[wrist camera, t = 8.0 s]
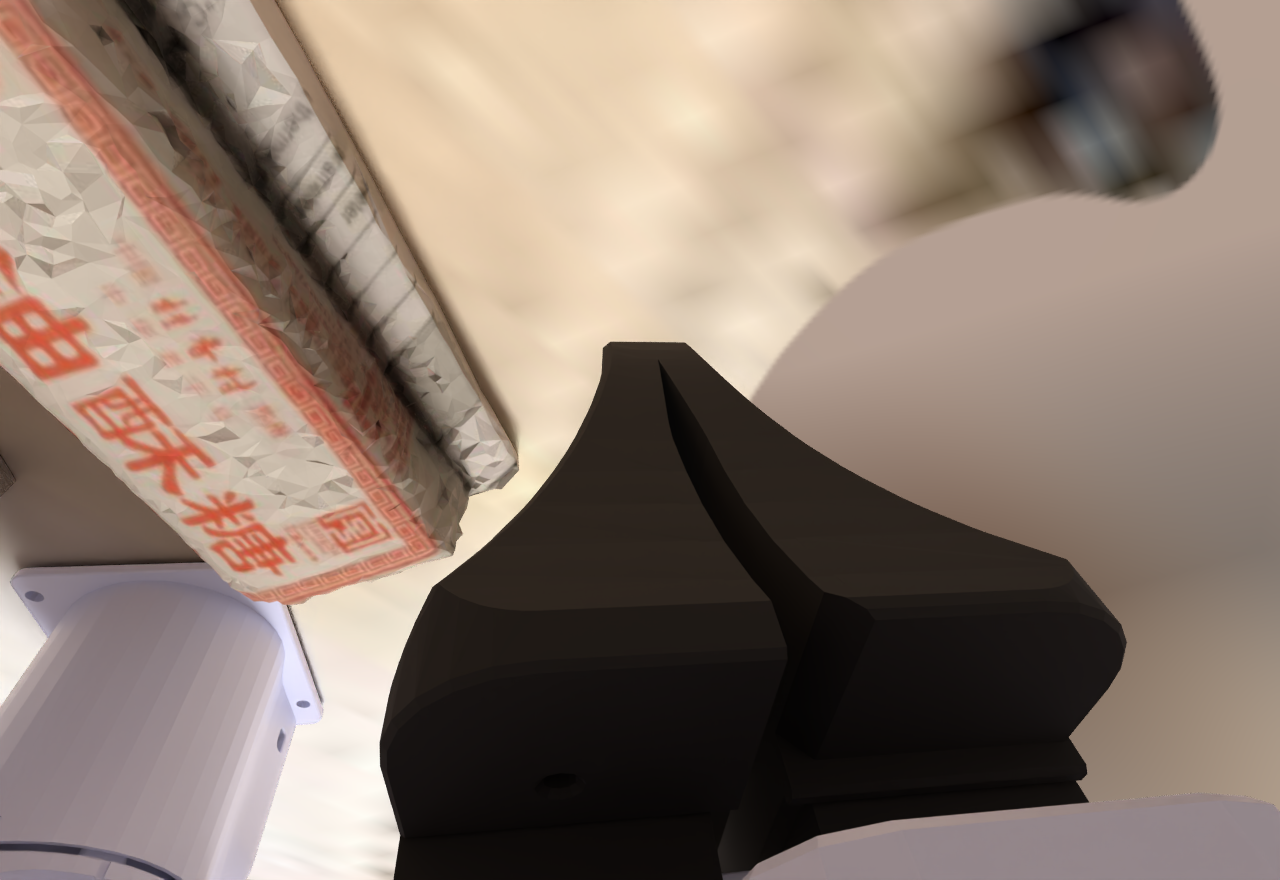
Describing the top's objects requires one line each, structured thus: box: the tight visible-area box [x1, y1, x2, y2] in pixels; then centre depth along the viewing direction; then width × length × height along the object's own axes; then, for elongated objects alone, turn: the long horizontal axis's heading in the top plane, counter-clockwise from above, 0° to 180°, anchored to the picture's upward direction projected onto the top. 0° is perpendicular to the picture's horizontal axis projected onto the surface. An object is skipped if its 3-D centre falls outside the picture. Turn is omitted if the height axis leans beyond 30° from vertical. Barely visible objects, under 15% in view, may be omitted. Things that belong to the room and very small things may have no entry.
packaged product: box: [0, 0, 519, 605], centre depth 16 cm, size 18×5×10 cm
